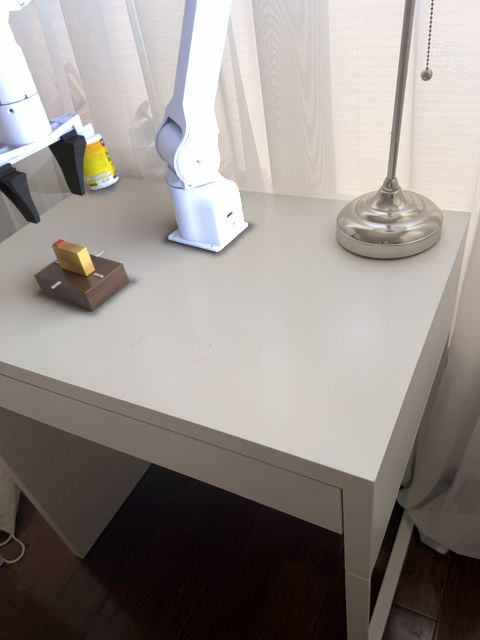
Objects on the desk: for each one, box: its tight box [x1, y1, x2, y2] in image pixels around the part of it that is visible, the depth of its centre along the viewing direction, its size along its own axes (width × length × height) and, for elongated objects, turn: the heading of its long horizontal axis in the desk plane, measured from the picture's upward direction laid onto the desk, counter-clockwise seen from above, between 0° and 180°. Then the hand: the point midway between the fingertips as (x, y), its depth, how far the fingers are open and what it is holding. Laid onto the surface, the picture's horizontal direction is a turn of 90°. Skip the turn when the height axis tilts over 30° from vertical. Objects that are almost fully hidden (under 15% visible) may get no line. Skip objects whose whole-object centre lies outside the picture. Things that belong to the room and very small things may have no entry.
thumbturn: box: [51, 238, 95, 276], centre depth 71 cm, size 5×2×4 cm, turn 57°
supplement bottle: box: [77, 122, 119, 191], centre depth 94 cm, size 6×6×10 cm
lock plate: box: [33, 250, 130, 312], centre depth 73 cm, size 10×9×3 cm
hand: (56, 207), depth 70 cm, fingers open, 7 cm apart
